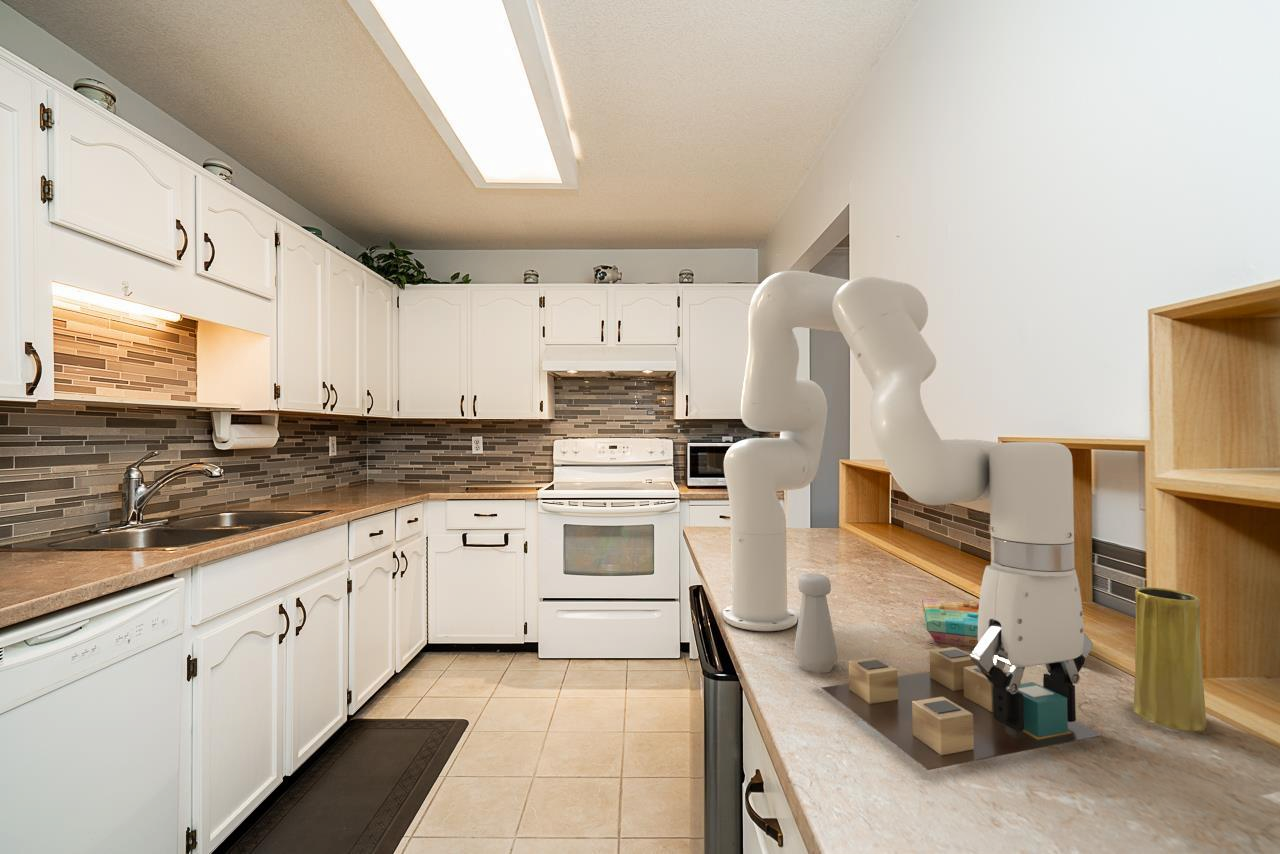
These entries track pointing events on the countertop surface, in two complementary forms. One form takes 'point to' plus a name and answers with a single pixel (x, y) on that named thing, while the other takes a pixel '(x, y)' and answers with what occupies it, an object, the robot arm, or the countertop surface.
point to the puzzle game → (952, 621)
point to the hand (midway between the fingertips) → (1034, 718)
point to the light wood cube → (873, 680)
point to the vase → (1168, 659)
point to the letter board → (987, 731)
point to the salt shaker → (815, 626)
